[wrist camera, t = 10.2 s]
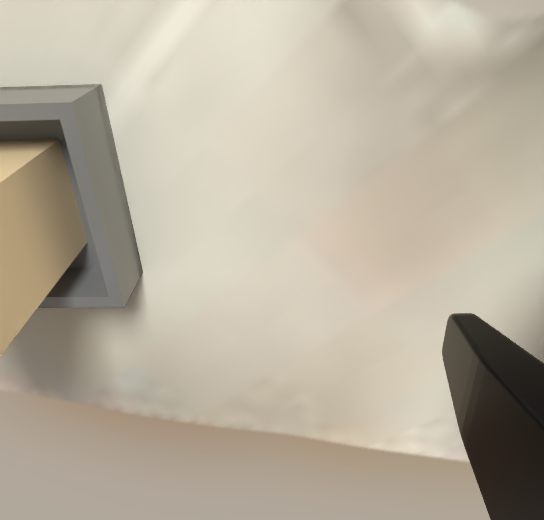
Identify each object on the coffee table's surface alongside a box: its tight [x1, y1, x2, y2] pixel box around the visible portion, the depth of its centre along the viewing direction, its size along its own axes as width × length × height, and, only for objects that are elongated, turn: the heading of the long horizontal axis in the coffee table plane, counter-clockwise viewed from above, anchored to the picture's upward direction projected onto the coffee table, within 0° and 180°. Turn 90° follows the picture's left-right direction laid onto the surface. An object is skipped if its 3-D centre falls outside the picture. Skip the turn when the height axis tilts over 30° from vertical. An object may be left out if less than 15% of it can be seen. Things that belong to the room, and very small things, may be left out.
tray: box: [0, 84, 143, 308], centre depth 21 cm, size 9×9×3 cm
